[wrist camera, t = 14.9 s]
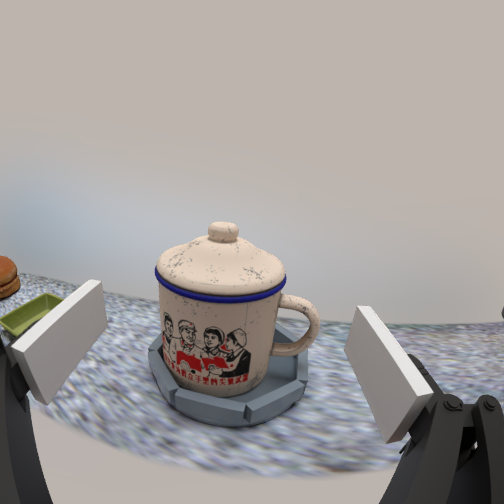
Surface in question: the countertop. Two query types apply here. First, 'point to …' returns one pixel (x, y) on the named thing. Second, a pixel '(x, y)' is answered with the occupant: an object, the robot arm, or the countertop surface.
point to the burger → (8, 277)
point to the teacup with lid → (224, 312)
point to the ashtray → (242, 405)
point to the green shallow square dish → (29, 313)
